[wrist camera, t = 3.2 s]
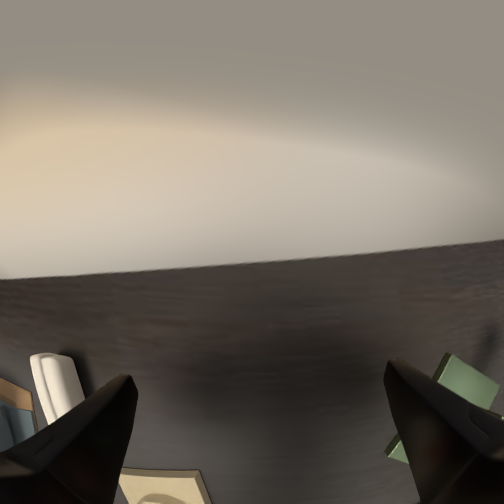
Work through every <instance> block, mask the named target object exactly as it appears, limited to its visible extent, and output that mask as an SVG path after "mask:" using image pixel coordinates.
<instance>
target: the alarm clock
mask: <svg viewBox="0 0 504 504" xmlns="http://www.w3.org/2000/svg"><path fill="white" fill-rule="evenodd" d="M36 433H38V430H37V425H36V419H35V414H34V408H33V401H32V393H31V392H29V391H27V390H25V389H23V388H21V387H18V386H16V385H14V384H12V383H10V382H8V381H6V380H4V379H2V378H0V452H2V451H5V450H7V449H9V448H11V447H13V446H15V445H17V444H19V443H20V442H22V441H24V440H26V439H28V438H29V437H31V436H33V435H34V434H36Z"/></svg>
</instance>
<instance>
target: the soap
mask: <svg viewBox="0 0 504 504" xmlns="http://www.w3.org/2000/svg"><path fill="white" fill-rule="evenodd" d="M30 363H31V368H32V372H33V377H34V381H35V385H36V389H37V392H38V396H39V399H40V402H41V405H42V408H43V411H44V414H45V416H46V419H47V421H48V424H49V425H50V424H51V423H53V422H55V420H57V419H58V418H60V417H61V416H62V415H64V414H65V413H67V412H68V411H70V410H71V409H72V408H74V407H75V406H76V405H78V404H79V403H81V402H82V401H83V400H85V397H84V394H83V391H82V387H81V384H80V381H79V378H78V375H77V371H76V368H75V365H74V362H73V360H72V358H70V357H67V356H63V355H57V354H54V353H41V354H36V355H33V356H31V357H30Z"/></svg>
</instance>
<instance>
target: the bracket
mask: <svg viewBox="0 0 504 504" xmlns="http://www.w3.org/2000/svg"><path fill="white" fill-rule="evenodd" d="M433 379H434V380H435V381H437V382H438V383H440V384H442V385H443V386H445V387H447V388H448V389H450V390H451V391H453V392H455V393H456V394H458V395H460V396H461V397H463V398H464V399H466V400H468V401H469V402H471V403H473V404H474V405H476V406H478V407H479V408H481V409H483V410H485V411H486V412H488V413H490V414H492V415H494V416H496V417H498V418H501V419H503V420H504V416H502V415H499V414H497V413H494V412H492V411H489V410H488V409H489V407H490V405H491V404H492V402H493V400H494V398H495V396H496V394H497V392H498V390H499V387H500V385H499V384H497V383H496V382H494V381H493V380H491V379H490V378H488V377H487V376H485V375H484V374H482V373H480V372H479V371H477V370H476V369H474V368H473V367H471V366H470V365H468V364H466V363H465V362H463V361H462V360H460V359H459V358H457V357H455V356H454V355H452V354H447V353H446V354H445V356H444V358H443V360H442V362H441V364H440V366H439V368H438V370H437V372H436V373H435V375H434V377H433ZM385 453H386V454H387V456H388V457H390V458H393V459H396V460H398V461H401V462H404V463H407V464H409V462H408V459H407V456H406V453H405V450H404V447H403V445H402V442H401V439H400V436H399V433H398V434H397V436H396V437H395V438H394V440H393V441H392V442H391V444H390V445H389V446H388V448H387V449H386V450H385Z"/></svg>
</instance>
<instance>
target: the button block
mask: <svg viewBox="0 0 504 504" xmlns="http://www.w3.org/2000/svg"><path fill="white" fill-rule="evenodd" d="M119 484H120V486H121V488H122V490H123V492H124V494H125V496H126V498H127V500H128V502H129V504H212V503H211V501H210V498H209V496H208V493H207V490H206V488H205V485H204V483H203V480H202V477H201V475H200V472H199V470H188V471H169V470H144V469H131V468H122V470H121V474H120V477H119Z"/></svg>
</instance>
